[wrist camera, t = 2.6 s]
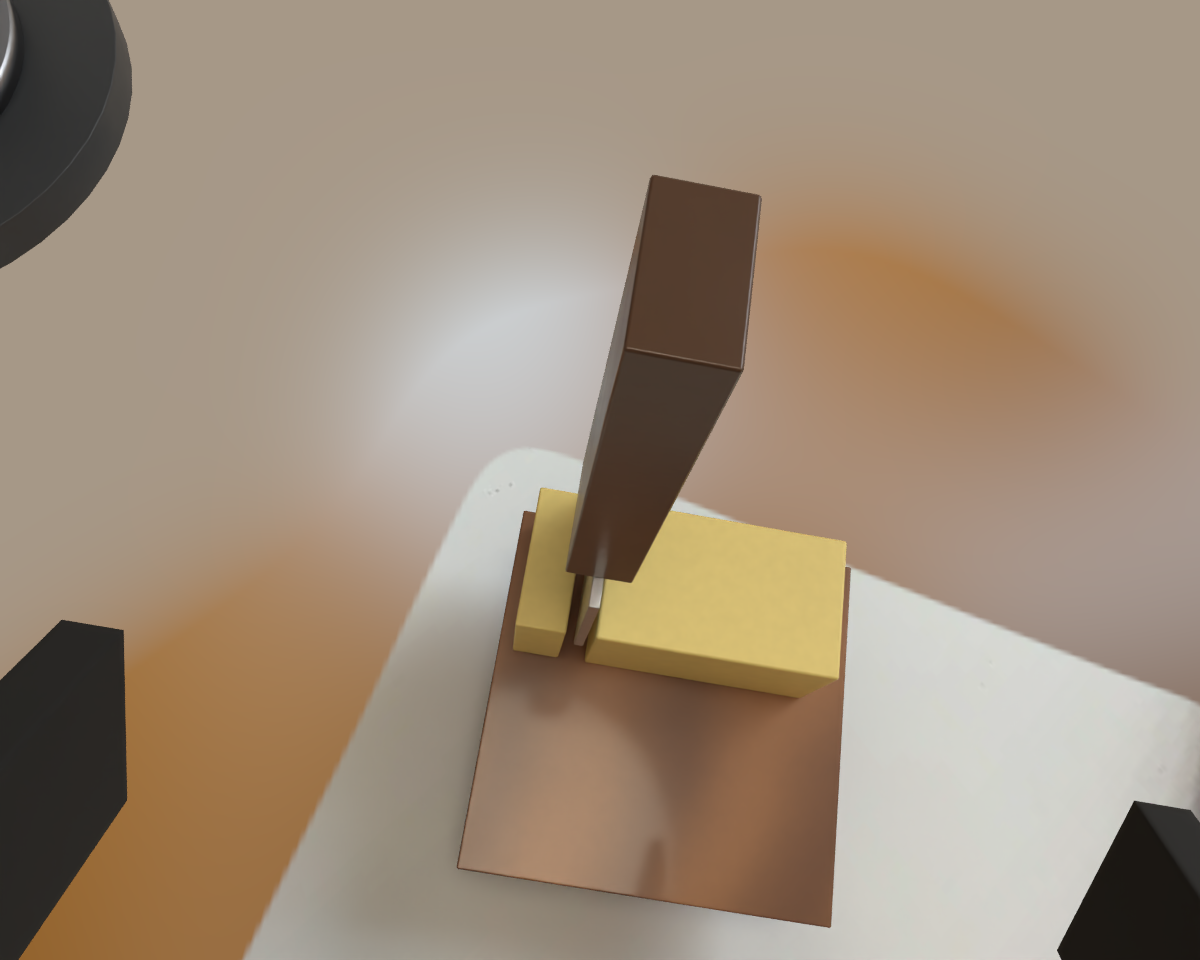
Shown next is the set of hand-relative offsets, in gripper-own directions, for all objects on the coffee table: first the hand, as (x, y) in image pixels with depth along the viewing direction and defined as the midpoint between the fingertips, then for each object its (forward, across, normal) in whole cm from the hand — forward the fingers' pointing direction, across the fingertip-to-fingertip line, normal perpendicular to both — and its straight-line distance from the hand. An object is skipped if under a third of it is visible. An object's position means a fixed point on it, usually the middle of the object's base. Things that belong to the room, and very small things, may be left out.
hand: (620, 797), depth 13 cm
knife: (+17, 0, -6) cm, 18 cm away
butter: (+19, +3, -8) cm, 21 cm away
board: (+18, +4, -12) cm, 22 cm away
